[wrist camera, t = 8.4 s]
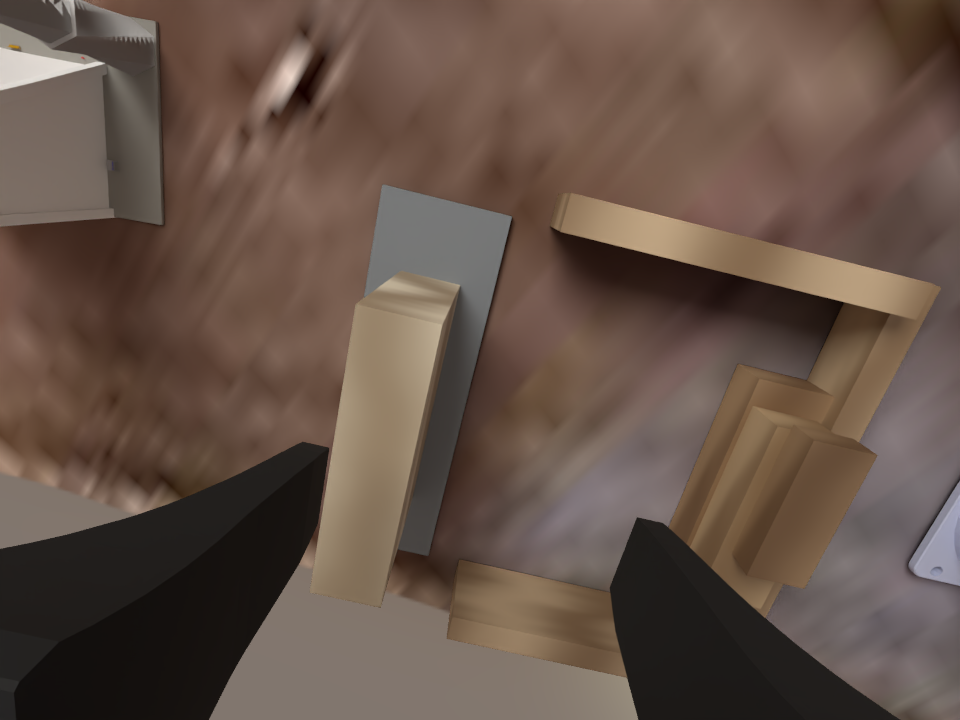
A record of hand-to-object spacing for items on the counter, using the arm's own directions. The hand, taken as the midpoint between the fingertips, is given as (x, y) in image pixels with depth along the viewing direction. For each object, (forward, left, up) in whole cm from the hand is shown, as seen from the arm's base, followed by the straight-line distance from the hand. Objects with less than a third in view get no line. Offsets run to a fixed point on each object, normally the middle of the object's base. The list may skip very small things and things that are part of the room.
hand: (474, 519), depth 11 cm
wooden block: (+3, +2, -10) cm, 11 cm away
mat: (+3, +2, -10) cm, 11 cm away
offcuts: (-11, +2, -10) cm, 15 cm away
